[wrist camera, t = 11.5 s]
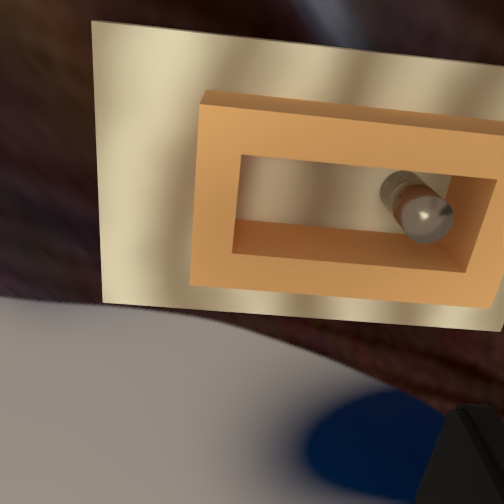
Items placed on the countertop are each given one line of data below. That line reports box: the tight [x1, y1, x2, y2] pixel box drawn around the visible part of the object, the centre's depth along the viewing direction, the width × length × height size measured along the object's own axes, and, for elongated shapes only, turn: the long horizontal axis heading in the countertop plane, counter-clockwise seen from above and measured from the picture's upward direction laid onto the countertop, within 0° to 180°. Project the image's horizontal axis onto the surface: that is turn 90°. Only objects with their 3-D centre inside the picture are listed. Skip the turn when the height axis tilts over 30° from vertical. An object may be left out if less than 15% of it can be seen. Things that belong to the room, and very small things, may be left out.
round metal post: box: [380, 170, 454, 244], centre depth 25 cm, size 2×2×4 cm
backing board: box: [91, 21, 504, 332], centre depth 28 cm, size 26×16×2 cm, turn 84°
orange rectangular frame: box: [189, 90, 504, 309], centre depth 25 cm, size 16×9×4 cm, turn 84°
